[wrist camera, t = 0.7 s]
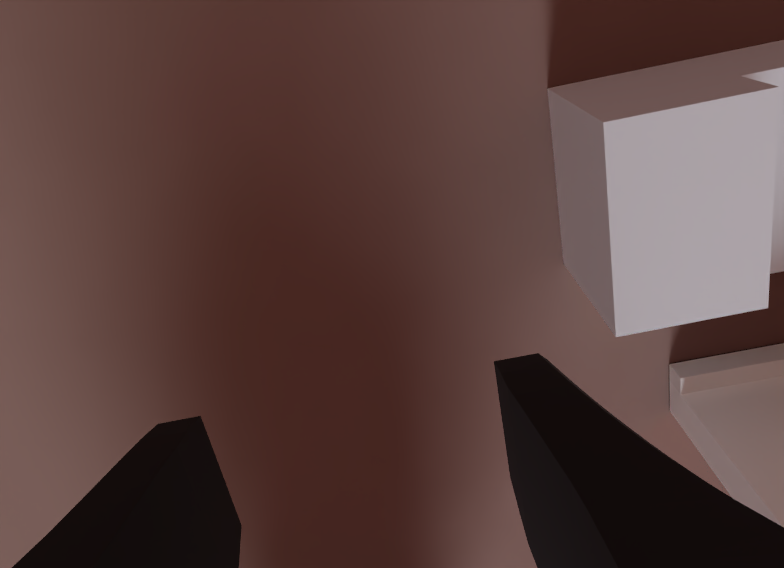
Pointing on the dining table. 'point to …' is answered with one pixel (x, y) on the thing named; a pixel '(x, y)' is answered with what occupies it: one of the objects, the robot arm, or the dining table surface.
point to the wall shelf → (737, 421)
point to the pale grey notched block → (673, 187)
